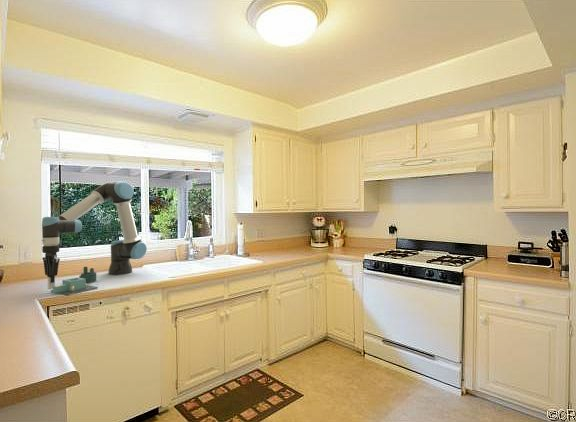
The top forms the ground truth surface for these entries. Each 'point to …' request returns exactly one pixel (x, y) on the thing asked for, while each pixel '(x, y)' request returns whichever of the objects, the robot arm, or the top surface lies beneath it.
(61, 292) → the post plate
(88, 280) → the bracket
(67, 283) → the teal stepped block
